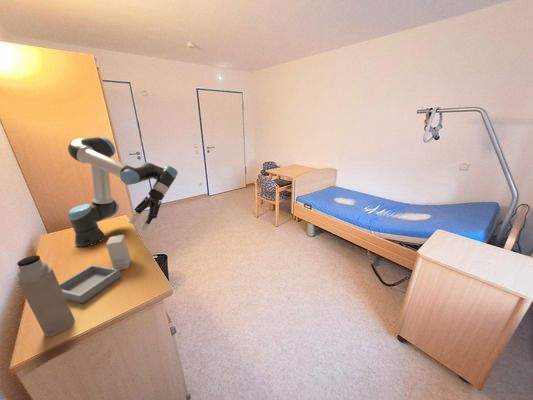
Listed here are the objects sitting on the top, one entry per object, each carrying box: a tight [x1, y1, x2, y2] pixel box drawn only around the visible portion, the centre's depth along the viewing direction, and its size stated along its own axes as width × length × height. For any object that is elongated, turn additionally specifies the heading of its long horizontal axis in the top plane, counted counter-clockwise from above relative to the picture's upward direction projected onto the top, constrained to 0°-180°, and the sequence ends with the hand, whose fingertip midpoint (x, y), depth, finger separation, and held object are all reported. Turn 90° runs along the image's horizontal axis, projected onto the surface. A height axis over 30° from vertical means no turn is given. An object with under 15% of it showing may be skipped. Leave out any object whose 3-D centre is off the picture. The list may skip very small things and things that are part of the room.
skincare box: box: [105, 234, 132, 271], centre depth 107 cm, size 8×7×16 cm
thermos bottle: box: [16, 255, 75, 337], centre depth 71 cm, size 8×8×28 cm
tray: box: [59, 264, 122, 306], centre depth 95 cm, size 17×17×4 cm
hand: (136, 226), depth 112 cm, fingers open, 13 cm apart
